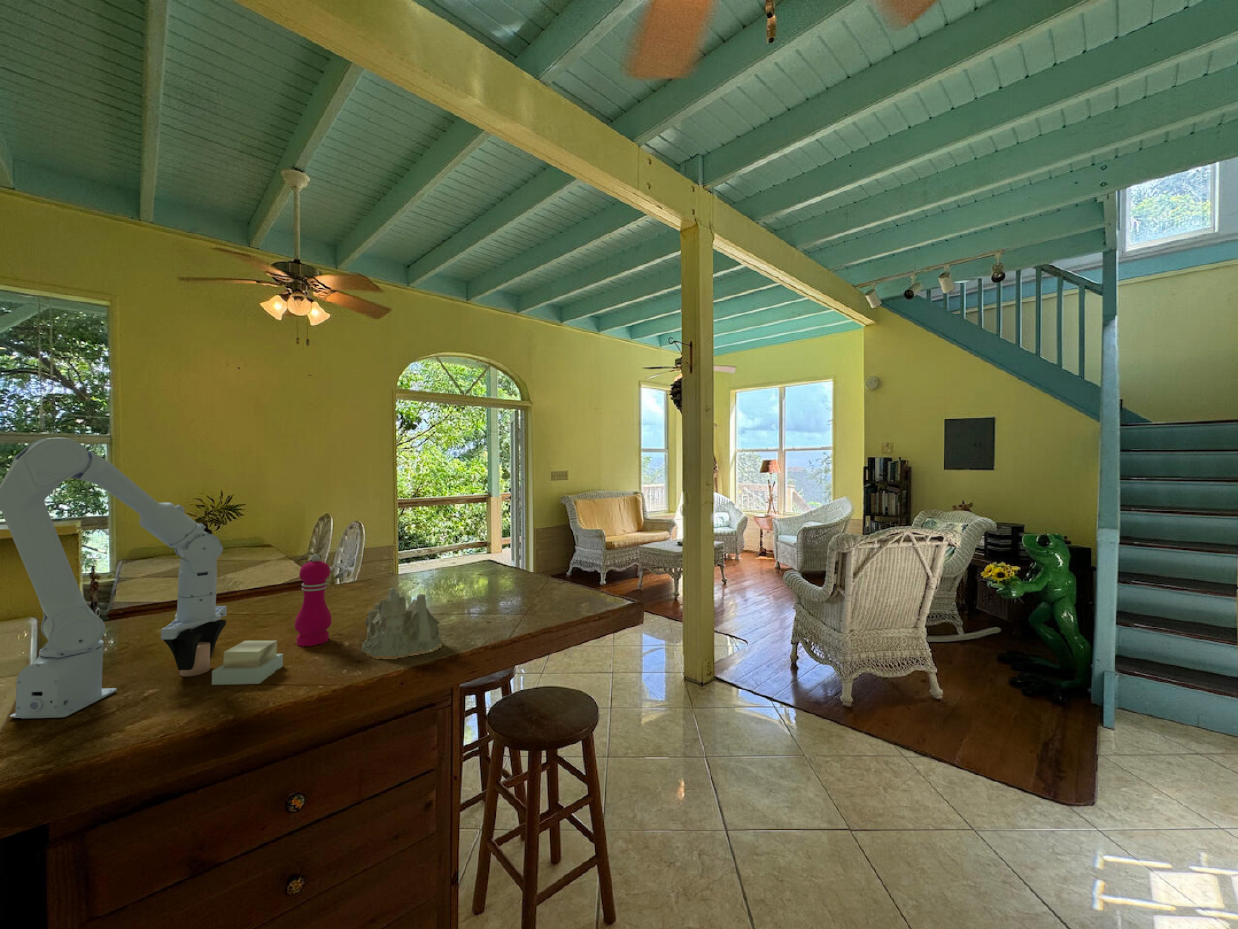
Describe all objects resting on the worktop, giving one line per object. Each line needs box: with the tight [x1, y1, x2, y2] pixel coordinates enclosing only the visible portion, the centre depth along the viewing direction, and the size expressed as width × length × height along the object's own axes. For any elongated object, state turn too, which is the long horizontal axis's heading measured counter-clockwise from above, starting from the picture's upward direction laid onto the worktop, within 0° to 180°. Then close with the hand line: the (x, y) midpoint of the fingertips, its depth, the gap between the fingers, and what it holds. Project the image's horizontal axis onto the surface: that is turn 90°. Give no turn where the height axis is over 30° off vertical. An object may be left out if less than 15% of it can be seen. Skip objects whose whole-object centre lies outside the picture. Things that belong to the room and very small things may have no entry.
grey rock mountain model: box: [361, 587, 442, 656], centre depth 113 cm, size 16×16×15 cm
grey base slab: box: [211, 653, 284, 686], centre depth 96 cm, size 8×8×3 cm
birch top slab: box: [222, 640, 278, 668], centre depth 96 cm, size 6×6×3 cm
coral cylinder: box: [179, 642, 211, 678], centre depth 96 cm, size 4×4×5 cm
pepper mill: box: [294, 554, 332, 647], centre depth 114 cm, size 7×7×20 cm
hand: (194, 664), depth 96 cm, fingers closed on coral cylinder, 4 cm apart
